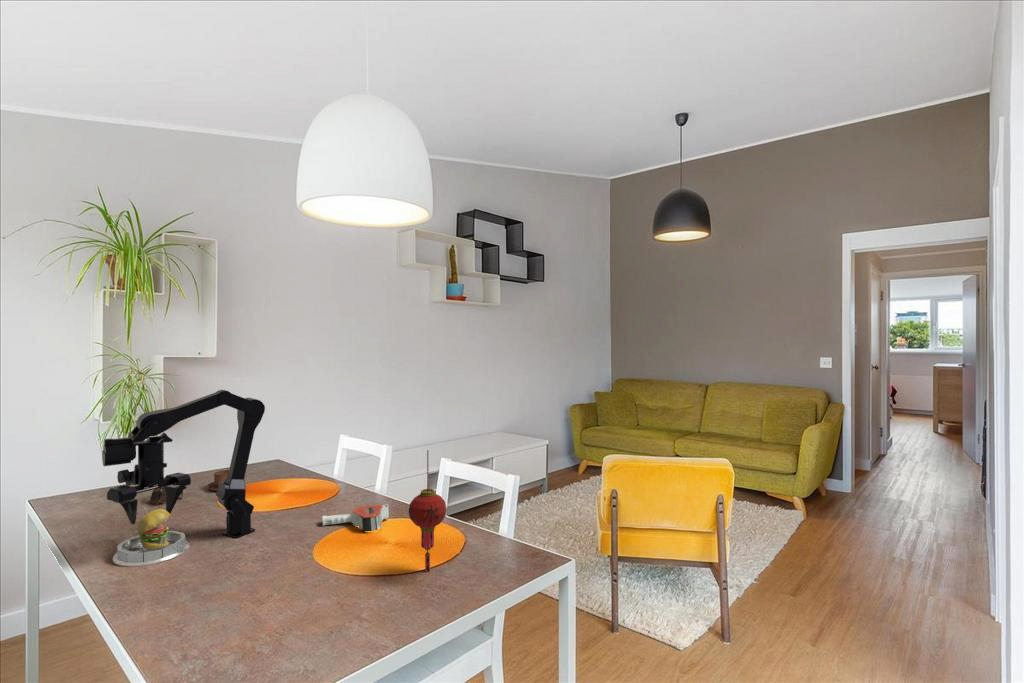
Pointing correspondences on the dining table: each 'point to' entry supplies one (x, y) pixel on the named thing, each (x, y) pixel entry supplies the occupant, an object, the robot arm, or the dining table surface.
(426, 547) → the lantern
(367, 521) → the tape dispenser
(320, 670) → the dining table surface
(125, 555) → the collar
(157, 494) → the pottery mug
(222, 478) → the cup and saucer
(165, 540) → the hamburger
